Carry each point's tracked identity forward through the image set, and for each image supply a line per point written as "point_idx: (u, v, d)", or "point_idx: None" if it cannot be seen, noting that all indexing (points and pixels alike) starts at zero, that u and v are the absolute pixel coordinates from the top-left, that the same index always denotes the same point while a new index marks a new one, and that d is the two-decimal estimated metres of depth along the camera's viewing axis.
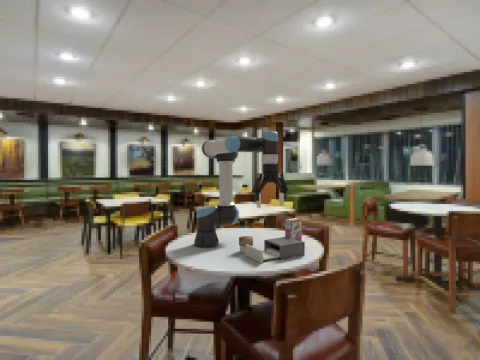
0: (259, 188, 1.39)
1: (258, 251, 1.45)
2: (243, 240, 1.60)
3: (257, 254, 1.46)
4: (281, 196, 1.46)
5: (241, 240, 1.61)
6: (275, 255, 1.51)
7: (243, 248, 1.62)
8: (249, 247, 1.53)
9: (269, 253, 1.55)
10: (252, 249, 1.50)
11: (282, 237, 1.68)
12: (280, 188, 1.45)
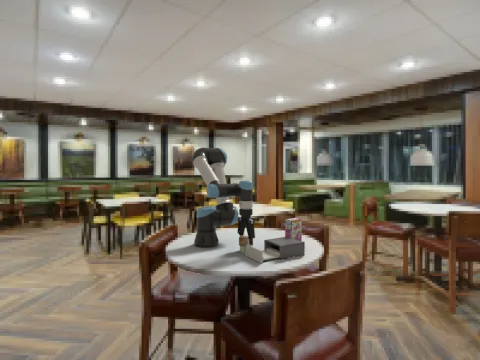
0: None
1: (258, 251, 1.45)
2: (243, 240, 1.60)
3: (257, 254, 1.46)
4: None
5: (241, 240, 1.61)
6: (275, 255, 1.51)
7: (243, 248, 1.62)
8: (249, 247, 1.53)
9: (269, 253, 1.55)
10: (252, 249, 1.50)
11: (282, 237, 1.68)
12: (248, 233, 1.60)
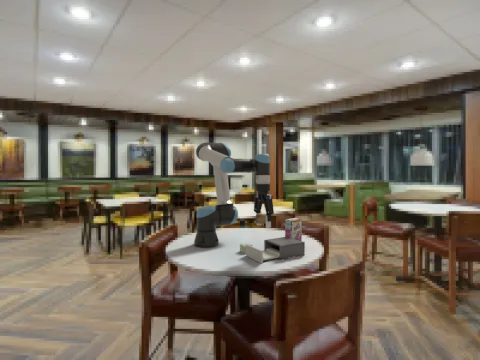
0: (257, 207, 1.57)
1: (258, 251, 1.45)
2: (261, 217, 1.50)
3: (257, 254, 1.46)
4: None
5: (258, 217, 1.50)
6: (275, 255, 1.51)
7: (243, 248, 1.62)
8: (249, 247, 1.53)
9: (269, 253, 1.55)
10: (252, 249, 1.50)
11: (282, 237, 1.68)
12: (265, 209, 1.50)
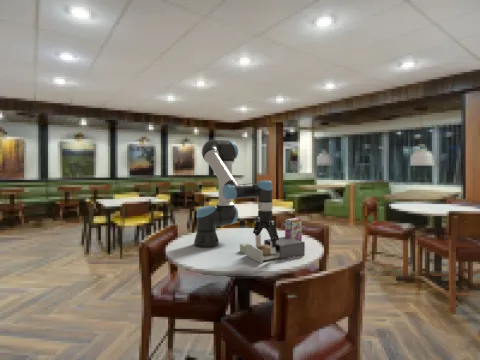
0: None
1: (258, 251, 1.45)
2: (262, 249, 1.50)
3: (257, 254, 1.46)
4: None
5: (260, 249, 1.51)
6: (275, 255, 1.51)
7: (243, 248, 1.62)
8: (249, 247, 1.53)
9: None
10: (252, 249, 1.50)
11: (282, 237, 1.68)
12: (270, 235, 1.48)
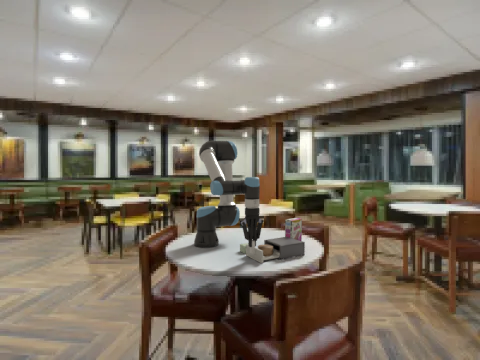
0: (249, 235, 1.48)
1: (258, 251, 1.45)
2: (263, 249, 1.50)
3: (257, 254, 1.46)
4: None
5: (261, 249, 1.51)
6: (275, 255, 1.51)
7: (243, 248, 1.62)
8: (249, 247, 1.53)
9: None
10: None
11: (282, 237, 1.68)
12: (254, 234, 1.49)
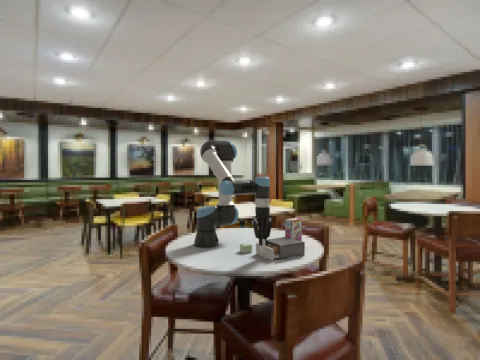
0: (260, 234, 1.51)
1: (269, 249, 1.49)
2: (273, 248, 1.53)
3: (268, 252, 1.49)
4: None
5: None
6: None
7: (243, 248, 1.62)
8: (259, 245, 1.56)
9: None
10: None
11: (282, 237, 1.68)
12: (264, 232, 1.52)
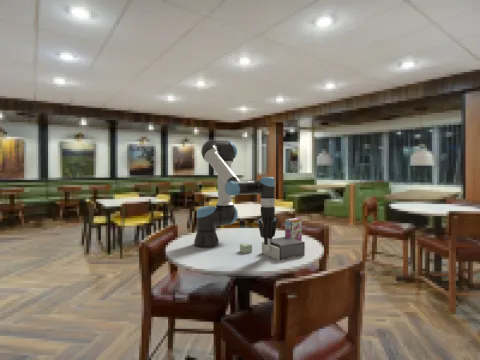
0: (265, 233, 1.53)
1: (275, 248, 1.50)
2: (279, 247, 1.55)
3: (274, 251, 1.51)
4: None
5: None
6: None
7: (243, 248, 1.62)
8: None
9: None
10: None
11: (282, 237, 1.68)
12: (269, 232, 1.54)
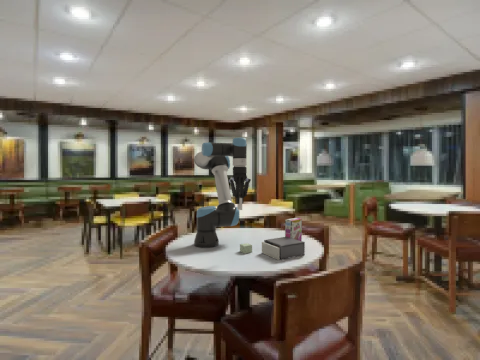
0: (237, 192, 1.57)
1: (275, 248, 1.50)
2: (279, 247, 1.55)
3: (274, 251, 1.51)
4: None
5: None
6: None
7: (243, 248, 1.62)
8: (265, 244, 1.58)
9: None
10: (268, 246, 1.55)
11: (282, 237, 1.68)
12: (241, 191, 1.58)
